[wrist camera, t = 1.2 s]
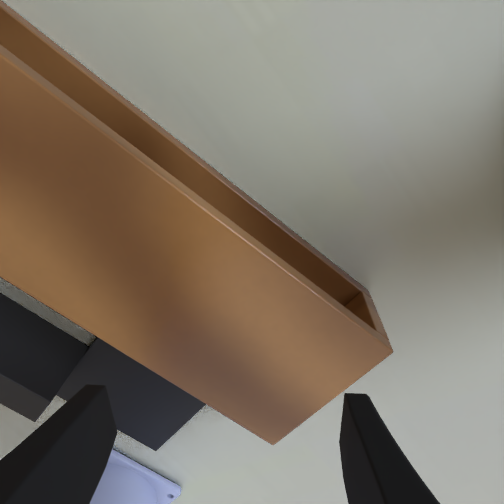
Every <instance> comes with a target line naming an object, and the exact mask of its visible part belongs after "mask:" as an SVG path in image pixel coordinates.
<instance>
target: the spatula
mask: <svg viewBox="0 0 504 504" xmlns="http://www.w3.org/2000/svg"><path fill="white" fill-rule="evenodd" d="M86 384H90V385H106V389H107V393H108V397H109V401H110V405H111V409H112V413H113V417H114V421H115V425H116V429H118V430H119V431H121V432H123V433H125V434H126V435H128V436H130V437H132V438H134V439H135V440H137V441H139V442H141V443H142V444H144V445H146V446H148V447H150V448H151V449H153V450H155V451H156V450H158V449H159V448H160V447H161V446H162V445H163V444H164V443H165V442H166V441H167V440H168V439H169V438H170V437H171V436H173V435H174V434H175V433H176V432H177V431H178V430H179V429H180V428H181V427H182V426H183V425H184V424H185V423H186V422H187V421H189V420H190V419H191V418H192V417H193V416H194V415H195V414H196V413H197V412H198V411H199V410H200V409H201V408H202V407H203V406H205V405H206V404H205V403H203V402H202V401H200V400H199V399H197V398H195V397H194V396H192V395H190V394H189V393H187V392H186V391H184V390H182V389H181V388H179V387H178V386H176V385H174V384H173V383H171V382H169V381H168V380H166V379H165V378H163V377H161V376H160V375H158V374H156V373H155V372H153V371H152V370H150V369H148V368H147V367H145V366H144V365H142V364H140V363H139V362H137V361H135V360H134V359H132V358H131V357H129V356H127V355H126V354H124V353H122V352H121V351H119V350H118V349H116V348H114V347H113V346H111V345H110V344H108V343H106V342H105V341H103V340H101V339H100V338H98V337H97V338H96V339H95V340H94V342H93V343H92V344H91V346H90V347H88V346H86V345H85V344H83V343H81V342H80V341H78V340H77V339H75V338H73V337H72V336H70V335H68V334H67V333H65V332H63V331H62V330H60V329H58V328H57V327H55V326H53V325H52V324H50V323H49V322H47V321H45V320H44V319H42V318H40V317H39V316H37V315H35V314H34V313H32V312H30V311H29V310H27V309H26V308H24V307H22V306H21V305H19V304H17V303H16V302H14V301H12V300H11V299H9V298H7V297H6V296H4V295H2V294H1V293H0V403H1V404H2V405H4V406H6V407H8V408H10V409H12V410H14V411H15V412H17V413H19V414H21V415H23V416H25V417H27V418H28V419H30V420H32V421H34V422H35V421H36V420H37V419H38V418H39V416H40V415H41V414H42V413H43V411H44V410H45V409H46V408H47V406H48V405H49V404H50V402H51V401H52V400H53V398H54V397H55V395H57V396H59V397H61V398H63V399H64V400H66V401H68V400H70V399H71V398H72V397H73V396H74V395H75V394H76V393H77V392H78V391H79V390H81V389H82V388H83V387H84V386H85V385H86Z"/></svg>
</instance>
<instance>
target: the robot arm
mask: <svg viewBox="0 0 504 504" xmlns="http://www.w3.org/2000/svg"><path fill="white" fill-rule="evenodd" d="M116 435H117V429H116V425H115V421H114V417H113V413H112V409H111V405H110V401H109V397H108V393H107V389H106V385H90V384H86V385H85V386H84V387H83V388H82V389H81V390H79V391H78V392H77V393H76V394H75V395H74V396H73V397H72V398H71V399H70V400H68V401H67V402H66V403H65V404H64V405H63V406H62V407H61V408H60V409H59V410H57V411H56V412H55V413H54V414H53V415H52V416H51V417H50V418H49V419H48V420H46V421H45V422H44V423H43V424H42V425H41V426H40V427H39V428H38V429H36V430H35V431H34V432H33V433H32V434H31V435H30V436H28V437H27V438H26V439H25V440H24V441H23V442H22V443H21V444H19V445H18V446H17V447H16V448H15V449H13V450H12V451H11V452H10V453H8V454H7V455H6V456H5V457H4V458H2V459H1V460H0V504H170V503H171V502H172V501H174V500H175V499H176V498H177V497H178V496H180V494H181V487H180V486H179V485H177V484H175V483H173V482H171V481H170V480H168V479H166V478H164V477H162V476H161V475H159V474H157V473H155V472H153V471H151V470H150V469H148V468H146V467H144V466H142V465H140V464H139V463H137V462H135V461H133V460H131V459H130V458H128V457H126V456H124V455H122V454H120V453H119V452H117V451H115V450H113V449H112V448H113V444H114V441H115V438H116ZM339 443H340V452H341V462H342V470H343V478H344V484H345V488H346V493H347V498H348V503H349V504H440V503H439V502H438V500H437V499H436V498H435V497H434V495H433V494H432V493H431V491H430V490H429V489H428V487H427V486H426V485H425V483H424V482H423V481H422V479H421V478H420V476H419V475H418V474H417V472H416V471H415V469H414V468H413V467H412V465H411V464H410V462H409V461H408V459H407V458H406V456H405V455H404V453H403V452H402V450H401V449H400V447H399V446H398V444H397V443H396V441H395V440H394V438H393V437H392V435H391V433H390V432H389V430H388V429H387V427H386V425H385V424H384V422H383V420H382V419H381V417H380V415H379V414H378V412H377V410H376V408H375V407H374V405H373V403H372V401H371V399H370V397H369V396H368V395H367V394H354V393H345V395H344V404H343V413H342V422H341V431H340V441H339Z"/></svg>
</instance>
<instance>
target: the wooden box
mask: <svg viewBox="0 0 504 504" xmlns="http://www.w3.org/2000/svg"><path fill="white" fill-rule="evenodd" d="M0 277H1V278H3V279H4V280H6V281H7V282H9V283H11V284H12V285H14V286H16V287H17V288H19V289H20V290H22V291H24V292H25V293H27V294H29V295H30V296H32V297H33V298H35V299H37V300H38V301H40V302H41V303H43V304H45V305H46V306H48V307H50V308H51V309H53V310H54V311H56V312H58V313H59V314H61V315H63V316H64V317H66V318H67V319H69V320H71V321H72V322H74V323H75V324H77V325H79V326H80V327H82V328H84V329H85V330H87V331H88V332H90V333H92V334H93V335H95V336H97V337H98V338H100V339H101V340H103V341H105V342H106V343H108V344H110V345H111V346H113V347H114V348H116V349H118V350H119V351H121V352H122V353H124V354H126V355H127V356H129V357H131V358H132V359H134V360H135V361H137V362H139V363H140V364H142V365H144V366H145V367H147V368H148V369H150V370H152V371H153V372H155V373H156V374H158V375H160V376H161V377H163V378H165V379H166V380H168V381H169V382H171V383H173V384H174V385H176V386H178V387H179V388H181V389H182V390H184V391H186V392H187V393H189V394H190V395H192V396H194V397H195V398H197V399H199V400H200V401H202V402H203V403H205V404H207V405H208V406H210V407H212V408H213V409H215V410H216V411H218V412H220V413H221V414H223V415H225V416H226V417H228V418H229V419H231V420H233V421H234V422H236V423H237V424H239V425H241V426H242V427H244V428H246V429H247V430H249V431H250V432H252V433H254V434H255V435H257V436H259V437H260V438H262V439H263V440H265V441H267V442H268V443H270V444H271V445H274V444H276V443H277V442H278V441H280V440H281V439H282V438H283V437H285V436H286V435H287V434H289V433H290V432H291V431H292V430H294V429H295V428H296V427H298V426H299V425H300V424H302V423H303V422H304V421H305V420H307V419H308V418H309V417H311V416H312V415H313V414H314V413H316V412H317V411H318V410H320V409H321V408H322V407H323V406H325V405H326V404H327V403H329V402H330V401H331V400H332V399H334V398H335V397H336V396H338V395H339V394H340V393H341V392H343V391H344V390H345V389H347V388H348V387H349V386H350V385H352V384H353V383H354V382H356V381H357V380H358V379H359V378H361V377H362V376H363V375H365V374H366V373H367V372H368V371H370V370H371V369H372V368H374V367H375V366H376V365H378V364H379V363H380V362H381V361H383V360H384V359H385V358H387V357H388V356H389V355H390V354H392V353H393V349H392V347H391V345H390V342H389V339H388V337H387V334H386V332H385V329H384V327H383V324H382V322H381V319H380V317H379V315H378V312H377V310H376V307H375V305H374V302H373V300H372V298H371V295H370V293H369V291H368V290H367V289H366V288H364V287H363V286H362V285H361V284H359V283H358V282H357V281H355V280H354V279H353V278H352V277H350V276H349V275H348V274H347V273H345V272H344V271H343V270H342V269H340V268H339V267H338V266H336V265H335V264H334V263H333V262H331V261H330V260H329V259H328V258H326V257H325V256H324V255H323V254H321V253H320V252H319V251H317V250H316V249H315V248H314V247H312V246H311V245H310V244H309V243H307V242H306V241H305V240H304V239H302V238H301V237H300V236H299V235H297V234H296V233H295V232H293V231H292V230H291V229H290V228H288V227H287V226H286V225H285V224H283V223H282V222H281V221H280V220H278V219H277V218H276V217H274V216H273V215H272V214H271V213H269V212H268V211H267V210H266V209H264V208H263V207H262V206H261V205H259V204H258V203H257V202H255V201H254V200H253V199H252V198H250V197H249V196H248V195H247V194H245V193H244V192H243V191H242V190H240V189H239V188H238V187H237V186H235V185H234V184H233V183H231V182H230V181H229V180H228V179H226V178H225V177H224V176H223V175H221V174H220V173H219V172H218V171H216V170H215V169H214V168H212V167H211V166H210V165H209V164H207V163H206V162H205V161H204V160H202V159H201V158H200V157H199V156H197V155H196V154H195V153H193V152H192V151H191V150H190V149H188V148H187V147H186V146H185V145H183V144H182V143H181V142H180V141H178V140H177V139H176V138H174V137H173V136H172V135H171V134H169V133H168V132H167V131H166V130H164V129H163V128H162V127H161V126H159V125H158V124H157V123H156V122H154V121H153V120H152V119H150V118H149V117H148V116H147V115H145V114H144V113H143V112H142V111H140V110H139V109H138V108H137V107H135V106H134V105H133V104H131V103H130V102H129V101H128V100H126V99H125V98H124V97H123V96H121V95H120V94H119V93H118V92H116V91H115V90H114V89H112V88H111V87H110V86H109V85H107V84H106V83H105V82H104V81H102V80H101V79H100V78H99V77H97V76H96V75H95V74H94V73H92V72H91V71H90V70H88V69H87V68H86V67H85V66H83V65H82V64H81V63H80V62H78V61H77V60H76V59H75V58H73V57H72V56H71V55H69V54H68V53H67V52H66V51H64V50H63V49H62V48H61V47H59V46H58V45H57V44H56V43H54V42H53V41H52V40H50V39H49V38H48V37H47V36H45V35H44V34H43V33H42V32H40V31H39V30H38V29H37V28H35V27H34V26H33V25H31V24H30V23H29V22H28V21H26V20H25V19H24V18H23V17H21V16H20V15H19V14H18V13H16V12H15V11H14V10H13V9H11V8H10V7H9V6H7V5H6V4H5V3H4V2H2V1H1V0H0Z"/></svg>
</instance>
